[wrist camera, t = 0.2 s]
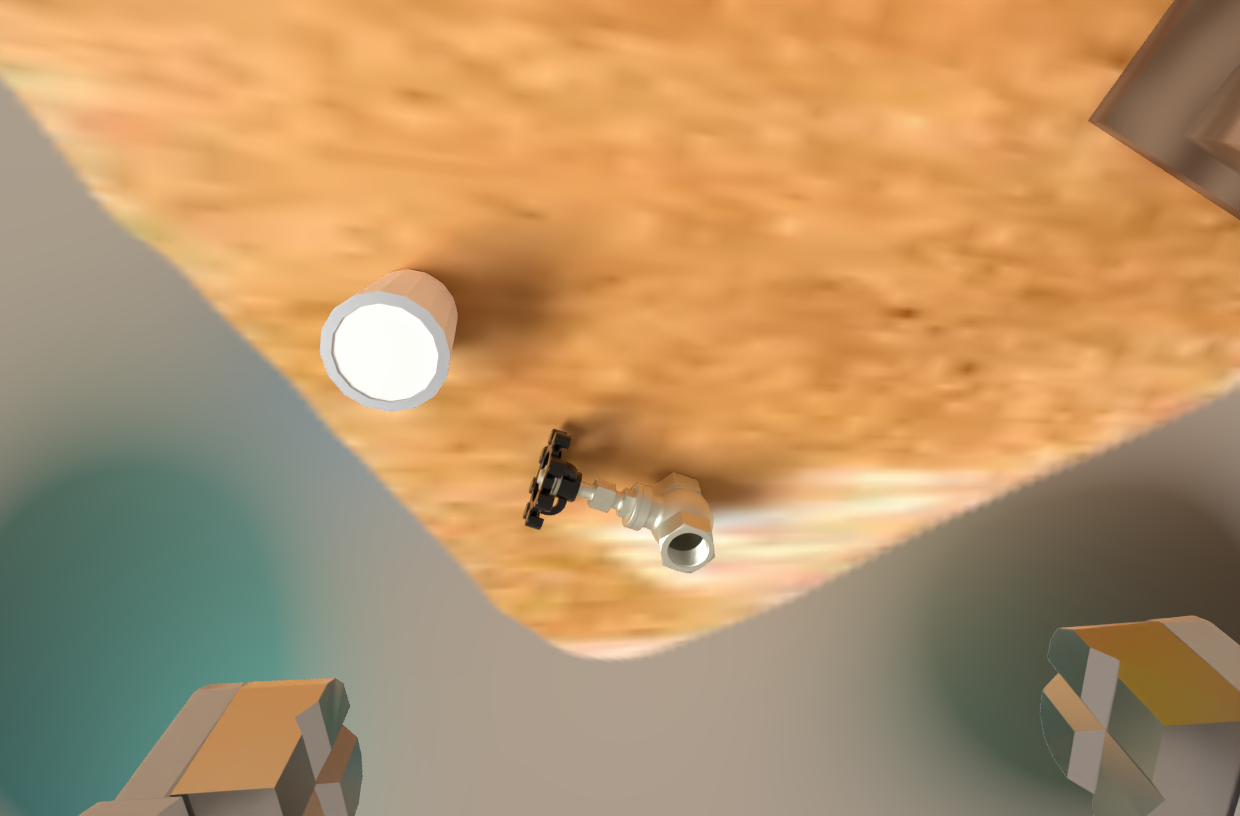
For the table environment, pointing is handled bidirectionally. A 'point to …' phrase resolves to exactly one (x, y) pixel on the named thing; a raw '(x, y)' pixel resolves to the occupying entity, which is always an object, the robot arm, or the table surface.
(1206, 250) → the table surface
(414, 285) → the white cylinder
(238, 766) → the robot arm
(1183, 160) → the valve stand
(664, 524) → the valve
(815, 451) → the table surface
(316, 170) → the table surface
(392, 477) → the table surface
